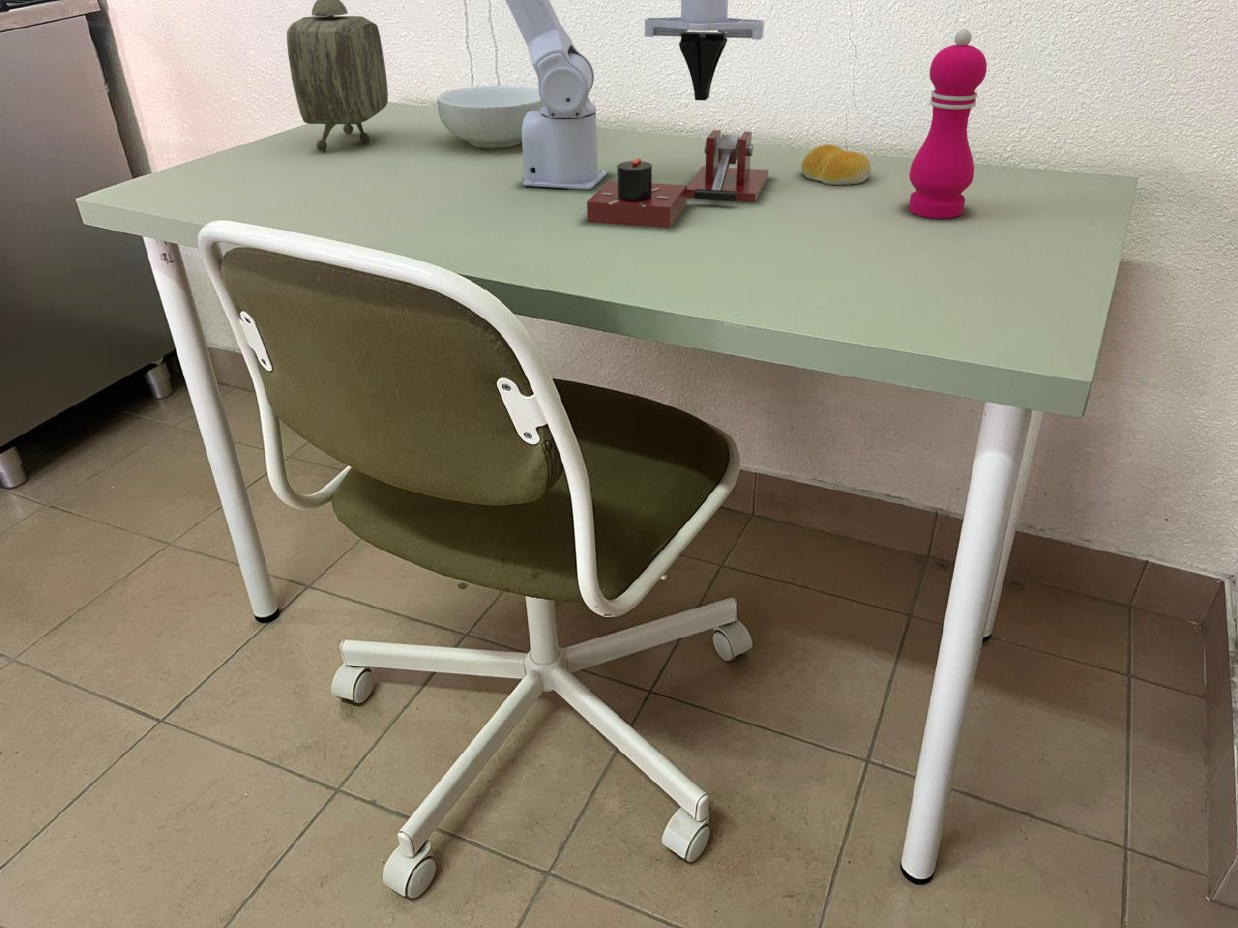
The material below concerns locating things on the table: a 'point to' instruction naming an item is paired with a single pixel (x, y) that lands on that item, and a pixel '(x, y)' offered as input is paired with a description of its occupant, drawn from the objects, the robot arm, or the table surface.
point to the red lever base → (730, 170)
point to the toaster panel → (638, 206)
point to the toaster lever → (722, 170)
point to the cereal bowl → (488, 113)
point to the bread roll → (835, 166)
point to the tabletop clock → (337, 69)
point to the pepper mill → (948, 132)
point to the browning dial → (634, 180)
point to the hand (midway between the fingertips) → (701, 99)
